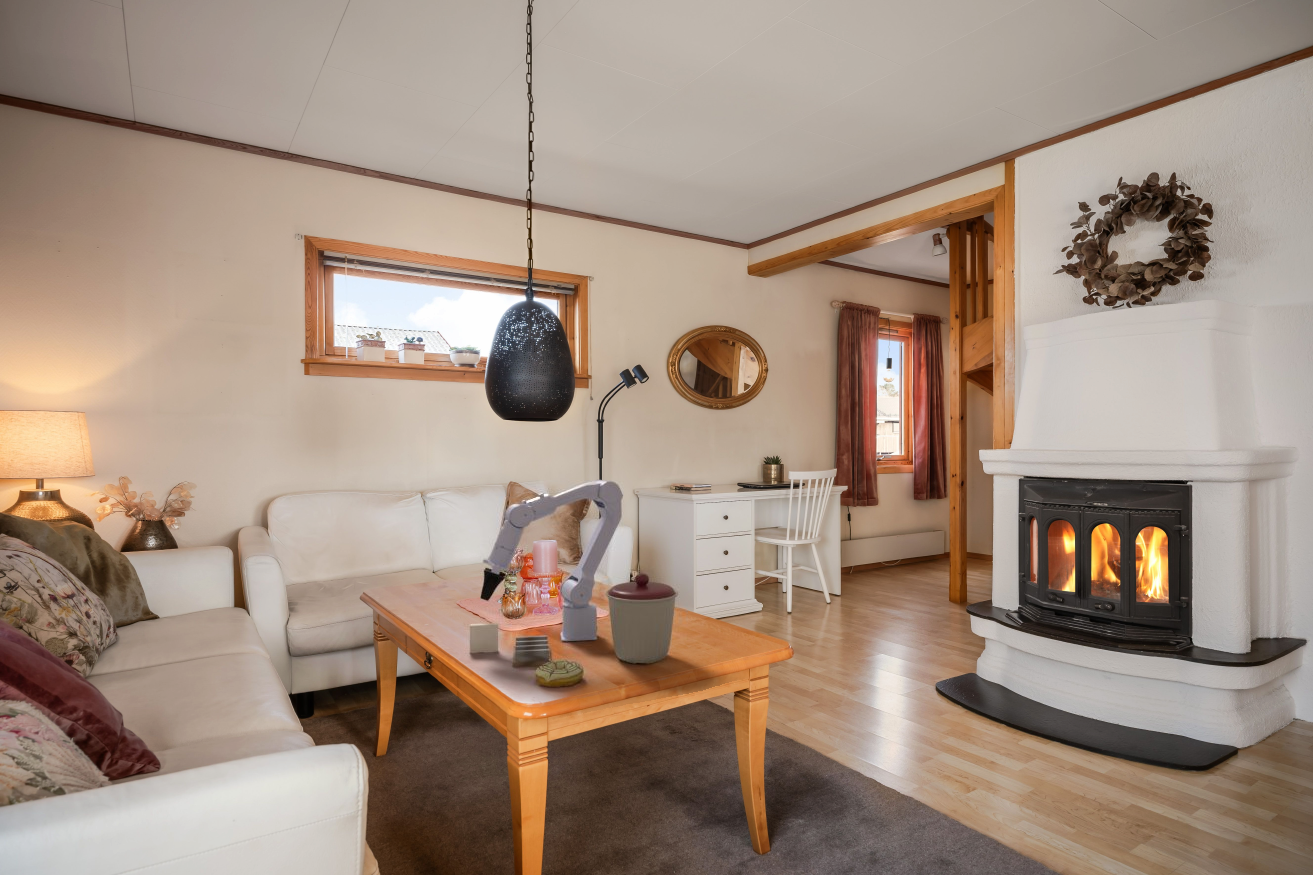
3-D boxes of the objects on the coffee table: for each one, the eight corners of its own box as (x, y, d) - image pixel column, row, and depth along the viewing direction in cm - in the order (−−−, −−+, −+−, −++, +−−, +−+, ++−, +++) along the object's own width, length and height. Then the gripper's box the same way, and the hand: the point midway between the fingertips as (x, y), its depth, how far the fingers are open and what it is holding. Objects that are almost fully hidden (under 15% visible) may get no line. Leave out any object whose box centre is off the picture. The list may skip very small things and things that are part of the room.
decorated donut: (528, 678, 163) (527, 662, 163) (570, 670, 169) (570, 654, 169) (546, 692, 155) (546, 675, 155) (590, 683, 160) (590, 666, 160)
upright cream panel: (498, 649, 185) (498, 622, 185) (497, 651, 183) (498, 624, 183) (470, 651, 184) (470, 623, 184) (469, 653, 182) (469, 625, 182)
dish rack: (549, 648, 186) (549, 634, 186) (550, 664, 173) (550, 650, 173) (513, 649, 185) (513, 636, 185) (512, 666, 171) (512, 652, 171)
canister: (692, 658, 178) (693, 574, 178) (637, 674, 166) (637, 583, 166) (645, 643, 191) (645, 564, 191) (590, 656, 179) (591, 572, 179)
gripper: (491, 541, 194) (471, 589, 192) (489, 543, 180) (468, 595, 178) (515, 550, 195) (496, 598, 193) (515, 553, 181) (495, 605, 179)
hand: (484, 597), depth 186 cm, fingers open, 7 cm apart
